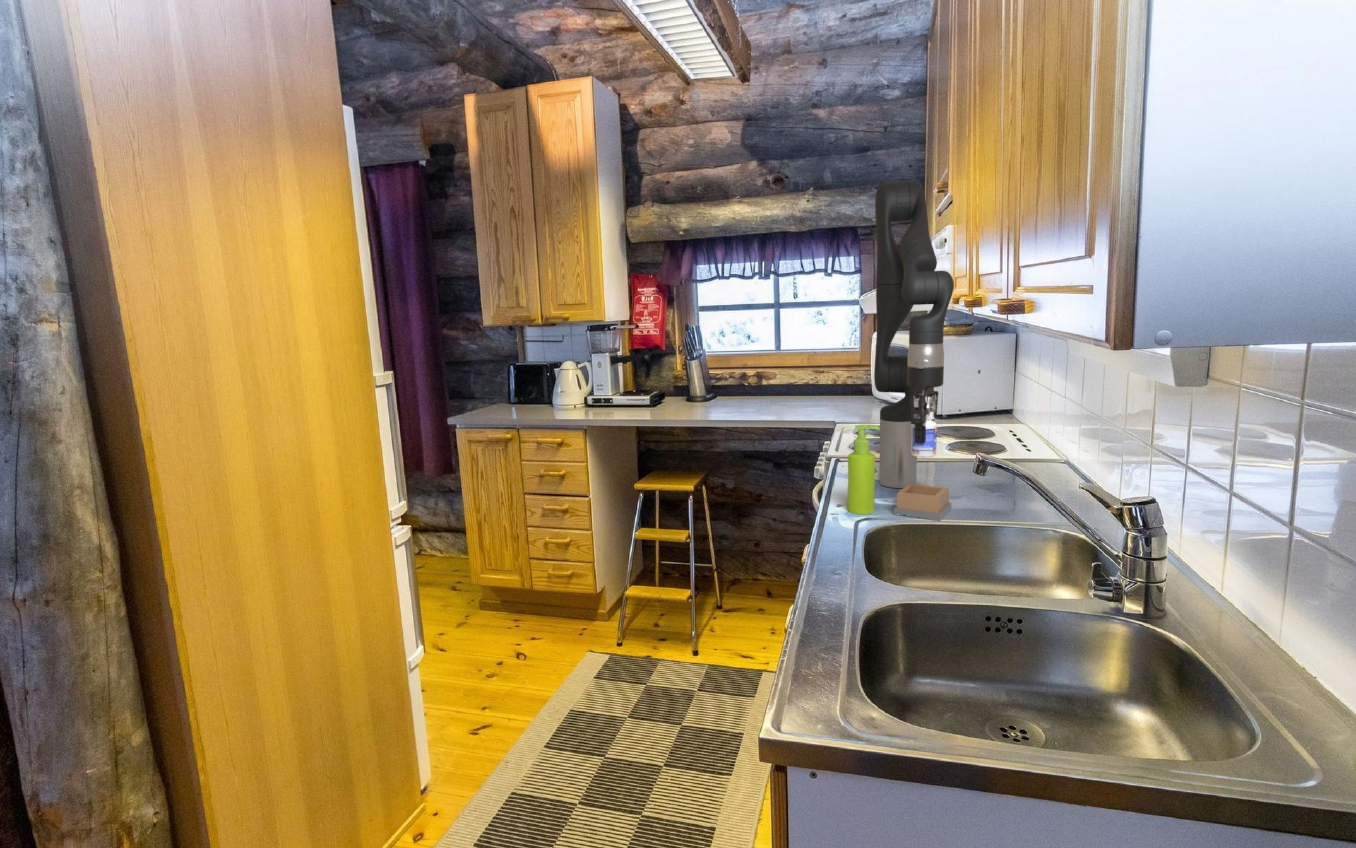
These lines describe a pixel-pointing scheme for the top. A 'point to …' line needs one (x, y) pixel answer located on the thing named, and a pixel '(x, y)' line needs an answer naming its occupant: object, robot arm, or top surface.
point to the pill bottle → (931, 438)
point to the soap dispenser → (861, 474)
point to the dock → (923, 501)
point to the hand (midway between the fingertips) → (923, 440)
